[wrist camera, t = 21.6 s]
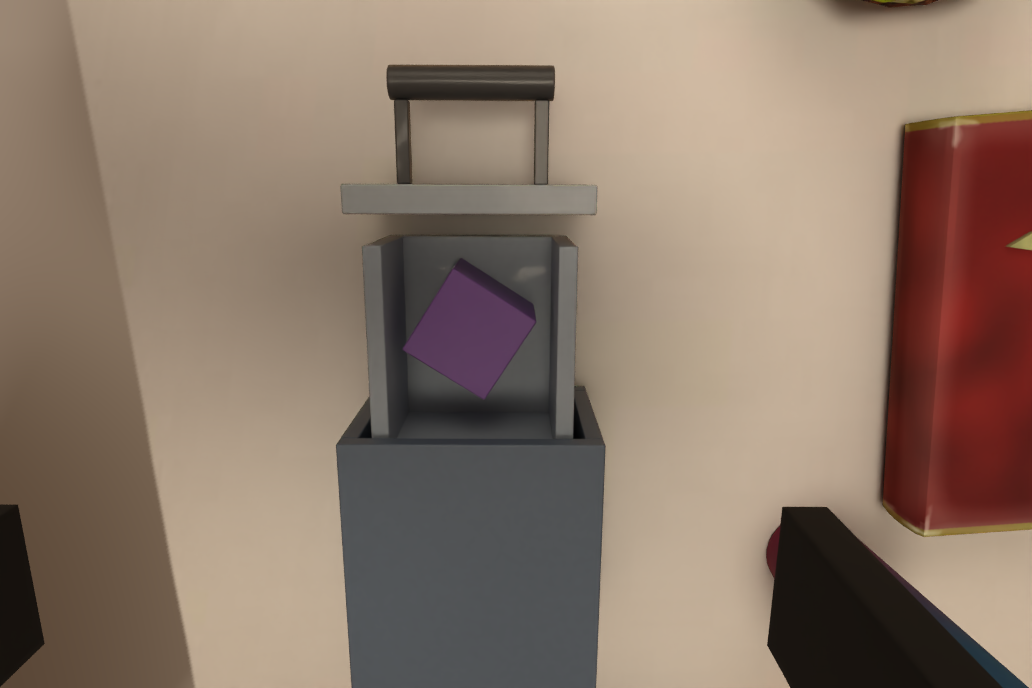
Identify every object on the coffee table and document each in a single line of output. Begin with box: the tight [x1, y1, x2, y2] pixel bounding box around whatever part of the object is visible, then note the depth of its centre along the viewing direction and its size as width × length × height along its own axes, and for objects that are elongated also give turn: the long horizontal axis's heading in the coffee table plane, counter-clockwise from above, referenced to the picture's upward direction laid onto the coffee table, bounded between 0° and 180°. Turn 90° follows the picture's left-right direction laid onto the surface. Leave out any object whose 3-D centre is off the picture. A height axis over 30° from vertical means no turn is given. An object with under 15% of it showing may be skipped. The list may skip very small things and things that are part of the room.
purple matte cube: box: [402, 258, 536, 400], centre depth 31 cm, size 4×4×4 cm
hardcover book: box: [883, 110, 1032, 537], centre depth 33 cm, size 12×21×4 cm, turn 4°
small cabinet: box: [336, 386, 605, 688], centre depth 34 cm, size 14×12×9 cm
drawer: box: [341, 65, 597, 439], centre depth 30 cm, size 17×10×7 cm, turn 0°
